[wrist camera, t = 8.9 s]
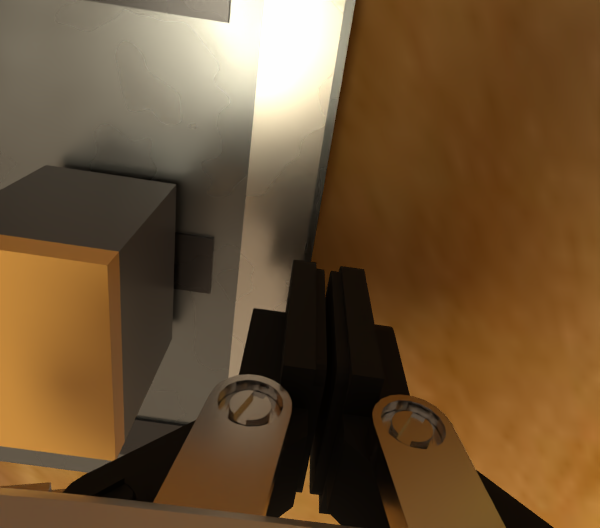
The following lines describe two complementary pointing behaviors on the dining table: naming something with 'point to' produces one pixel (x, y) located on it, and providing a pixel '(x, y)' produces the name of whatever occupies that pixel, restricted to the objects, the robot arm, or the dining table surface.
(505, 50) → the dining table surface
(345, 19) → the panel
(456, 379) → the dining table surface
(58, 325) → the block
